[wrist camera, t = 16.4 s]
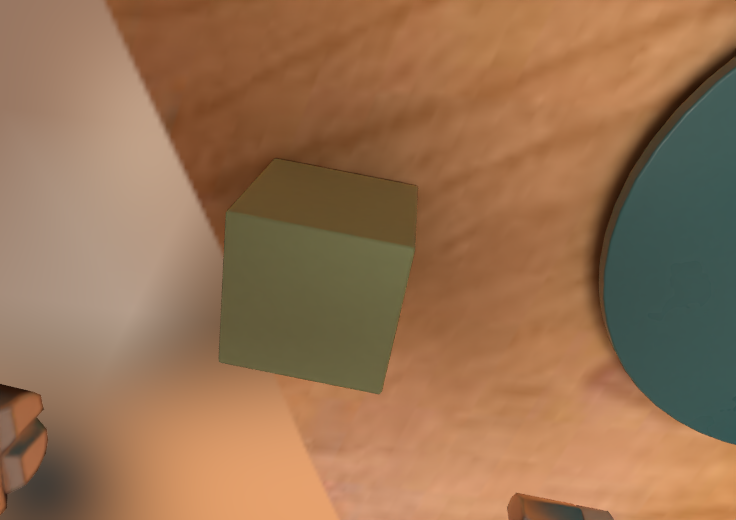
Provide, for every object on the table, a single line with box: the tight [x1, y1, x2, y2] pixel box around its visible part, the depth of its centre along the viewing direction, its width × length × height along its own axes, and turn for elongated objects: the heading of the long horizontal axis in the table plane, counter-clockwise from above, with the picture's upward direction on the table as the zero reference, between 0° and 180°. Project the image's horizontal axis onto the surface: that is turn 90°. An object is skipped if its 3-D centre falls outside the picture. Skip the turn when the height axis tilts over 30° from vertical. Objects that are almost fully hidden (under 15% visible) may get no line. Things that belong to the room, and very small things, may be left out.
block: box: [219, 158, 418, 394], centre depth 15 cm, size 4×4×4 cm
